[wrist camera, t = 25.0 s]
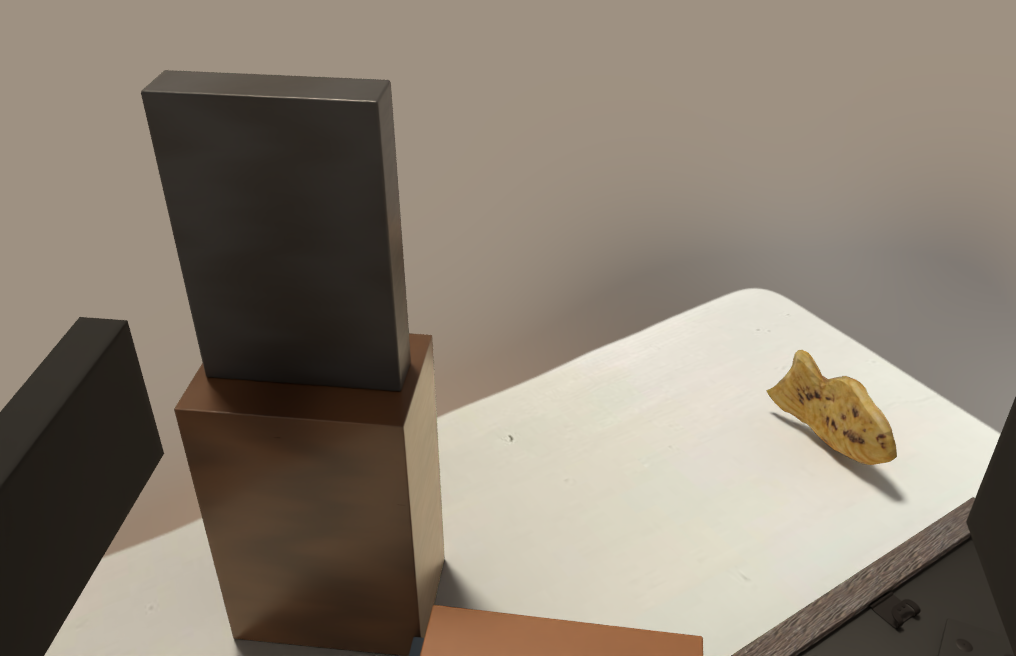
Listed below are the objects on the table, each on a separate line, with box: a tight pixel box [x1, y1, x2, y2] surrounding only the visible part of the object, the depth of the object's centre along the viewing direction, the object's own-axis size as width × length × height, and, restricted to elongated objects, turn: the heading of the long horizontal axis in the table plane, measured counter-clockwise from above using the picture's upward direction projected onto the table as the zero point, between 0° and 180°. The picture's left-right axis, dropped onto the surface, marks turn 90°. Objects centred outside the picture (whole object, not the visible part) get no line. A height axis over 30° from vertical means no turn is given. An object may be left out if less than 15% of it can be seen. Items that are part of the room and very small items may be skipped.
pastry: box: [767, 350, 897, 465], centre depth 55 cm, size 9×2×5 cm, turn 36°
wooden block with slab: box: [141, 70, 445, 656], centre depth 40 cm, size 9×6×26 cm, turn 83°
